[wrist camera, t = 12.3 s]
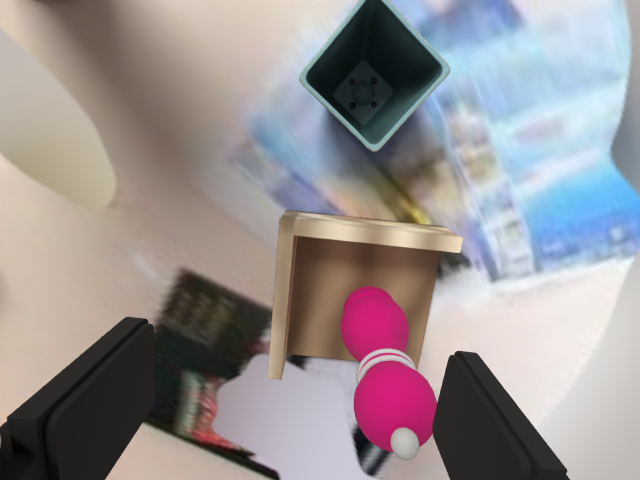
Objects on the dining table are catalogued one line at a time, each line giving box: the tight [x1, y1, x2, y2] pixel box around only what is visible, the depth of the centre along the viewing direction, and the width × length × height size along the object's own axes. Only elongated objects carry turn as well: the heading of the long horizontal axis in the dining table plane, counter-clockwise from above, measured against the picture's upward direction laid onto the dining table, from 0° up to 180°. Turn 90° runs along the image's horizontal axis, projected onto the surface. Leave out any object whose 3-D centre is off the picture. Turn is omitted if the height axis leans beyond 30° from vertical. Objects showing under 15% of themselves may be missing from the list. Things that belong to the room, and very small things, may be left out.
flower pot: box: [299, 0, 450, 152], centre depth 30 cm, size 9×9×9 cm
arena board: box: [286, 210, 445, 367], centre depth 39 cm, size 18×18×1 cm
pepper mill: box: [340, 286, 437, 460], centre depth 30 cm, size 7×7×20 cm
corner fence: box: [268, 211, 463, 380], centre depth 37 cm, size 18×18×5 cm
